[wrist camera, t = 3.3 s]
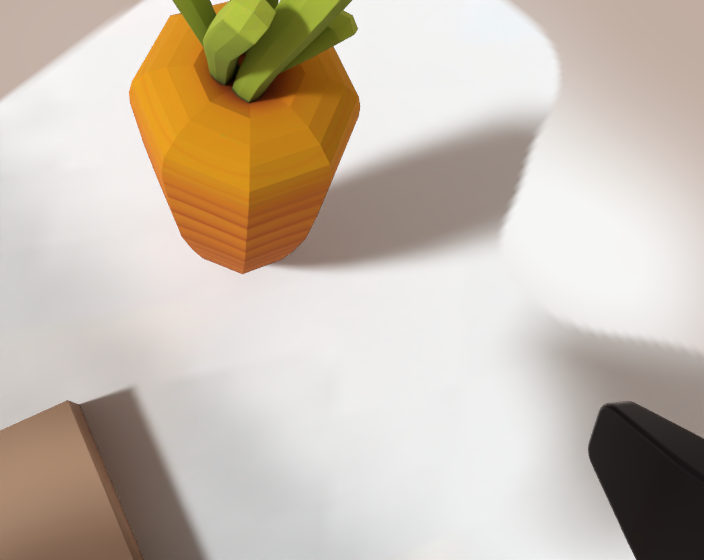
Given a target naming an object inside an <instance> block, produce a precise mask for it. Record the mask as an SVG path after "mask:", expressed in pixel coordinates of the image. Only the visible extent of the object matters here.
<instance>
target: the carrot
mask: <svg viewBox="0 0 704 560" xmlns="http://www.w3.org/2000/svg"><path fill="white" fill-rule="evenodd" d="M351 1H352V0H281V1H280V2H279V4H278V0H230V1H229V2H224V3H220V4H216V5H212V4H211V2H210V0H173V2H174V3H175V5H176V6H177V8H178V9H179V11H180V12H181V13H179V14H175V15H171V16H170V17H169V19H168V20H167V22H166V24H165V26H164V27H163V29H162V31H161V32H160V34H159V36H158V38H157V39H156V41H155V43H154V45H153V46H152V48H151V50H150V51H149V53H148V55H147V57H146V58H145V60H144V62H143V63H142V65H141V67H140V69H139V70H138V72H137V74H136V76H135V77H134V79H133V81H132V83H131V87H130V91H129V96H130V104H131V107H132V110H133V113H134V116H135V119H136V122H137V125H138V128H139V131H140V134H141V137H142V140H143V143H144V146H145V148H146V151H147V153H148V156H149V158H150V161H151V163H152V166H153V168H154V171H155V173H156V176H157V179H158V181H159V183H160V186H161V188H162V190H163V193H164V195H165V198H166V200H167V202H168V205H169V207H170V210H171V212H172V214H173V217H174V219H175V222H176V224H177V226H178V229H179V231H180V234H181V236H182V238H183V239H184V240H185V241H186V242H187V243H188V245H189V246H190V247H191V248H192V249H193V250H194V251H195V252H196V253H197V254H198V255H200V256H201V257H202V258H204V259H206V260H209V261H211V262H214V263H216V264H219V265H221V266H224V267H226V268H229V269H231V270H234V271H236V272H239V273H241V274H244V273H247V272H250V271H252V270H255V269H258V268H260V267H263V266H265V265H268V264H271V263H273V262H276V261H279V260H281V259H283V258H284V257H286V256H287V255H288V254H290V253H291V252H293V251H294V250H295V249H296V248H297V247H298V246H299V245H300V244H301V243H302V242H303V241H304V240H305V239H306V237H307V235H308V233H309V231H310V229H311V227H312V225H313V223H314V221H315V219H316V217H317V215H318V213H319V210H320V208H321V205H322V203H323V201H324V198H325V196H326V194H327V191H328V189H329V187H330V184H331V182H332V179H333V177H334V174H335V172H336V170H337V167H338V165H339V162H340V160H341V158H342V155H343V153H344V150H345V148H346V145H347V143H348V141H349V138H350V136H351V133H352V131H353V129H354V126H355V124H356V121H357V119H358V117H359V111H360V102H359V96H358V94H357V92H356V91H355V89H354V87H353V85H352V83H351V81H350V79H349V77H348V75H347V73H346V71H345V69H344V67H343V65H342V63H341V61H340V59H339V57H338V55H337V53H336V51H335V49H334V47H333V46H334V45H336V44H338V43H340V42H342V41H344V40H345V39H347V38H349V37H351V36H353V35H354V34H355V33H356V31H357V30H358V28H357V25H356V23H355V20H354V18H353V15H351V14H349V13H347V12H345V11H343V10H344V9H345V7H346V6H347V5H348V4H349V3H350V2H351Z"/></svg>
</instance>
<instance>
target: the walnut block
mask: <svg viewBox="0 0 704 560" xmlns="http://www.w3.org/2000/svg"><path fill="white" fill-rule="evenodd" d="M0 560H144V559H143V557H142V555H141V552H140V550H139V547H138V545H137V543H136V540H135V538H134V535H133V533H132V531H131V528H130V526H129V523H128V521H127V519H126V516H125V514H124V511H123V509H122V507H121V504H120V502H119V499H118V497H117V495H116V492H115V490H114V487H113V485H112V483H111V480H110V478H109V475H108V473H107V470H106V468H105V466H104V463H103V461H102V458H101V456H100V454H99V451H98V449H97V446H96V444H95V442H94V439H93V437H92V434H91V432H90V430H89V427H88V425H87V422H86V420H85V418H84V415H83V413H82V410H81V408H80V406H79V404H76V403H73V402H71V401H68V400H67V401H65V402H63V403H61V404H58V405H56V406H54V407H52V408H50V409H47V410H45V411H43V412H41V413H38V414H36V415H34V416H32V417H30V418H27V419H25V420H23V421H21V422H18V423H16V424H14V425H12V426H10V427H7V428H5V429H3V430H1V431H0Z"/></svg>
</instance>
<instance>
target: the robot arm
mask: <svg viewBox="0 0 704 560" xmlns="http://www.w3.org/2000/svg"><path fill="white" fill-rule="evenodd" d="M588 452H589V458H590V461H591V464H592V466H593V468H594V470H595V472H596V474H597V477H598V479H599V481H600V483H601V485H602V488H603V490H604V492H605V494H606V496H607V498H608V501H609V503H610V505H611V507H612V509H613V512H614V514H615V516H616V518H617V520H618V522H619V525H620V527H621V529H622V531H623V533H624V535H625V538H626V540H627V542H628V544H629V546H630V548H631V550H632V552H633V554H634V556H635V558H636V560H704V439H703V438H701V437H700V436H698V435H696V434H694V433H692V432H690V431H688V430H686V429H684V428H682V427H680V426H678V425H676V424H675V423H673V422H671V421H669V420H667V419H665V418H663V417H661V416H659V415H657V414H655V413H653V412H652V411H650V410H648V409H646V408H644V407H642V406H640V405H638V404H636V403H634V402H631V401H622V402H613V403H607V404H604V405H603V406H602V407H601V408H600V410H599V413H598V416H597V419H596V422H595V425H594V429H593V432H592V435H591V438H590V441H589V445H588Z"/></svg>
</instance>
